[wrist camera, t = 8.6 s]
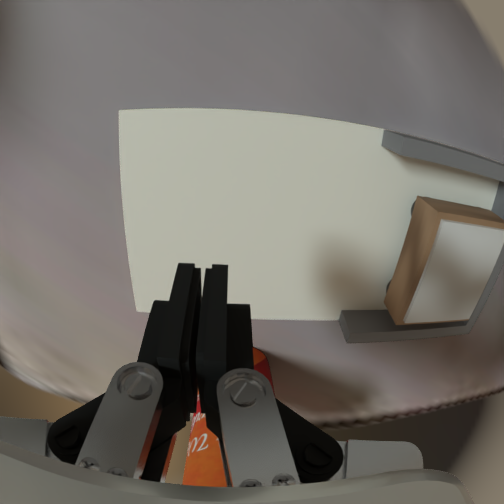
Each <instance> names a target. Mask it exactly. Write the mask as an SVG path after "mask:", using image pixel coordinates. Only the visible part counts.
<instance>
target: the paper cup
mask: <svg viewBox="0 0 504 504" xmlns="http://www.w3.org/2000/svg"><path fill="white" fill-rule="evenodd" d="M253 358H254V370H256V371H258V372H260V373H261V374H263V375H264V376H265V377H266V378H267V379H268V380H269V382H270V384H271V386H272V389H273V393H274V388H273V383H272V377H271V372H270V368H269V363H268V360H267V358H266V356H265V355H264V354H263V353H262V352H261V351H259V350H258V349H256V348H254V347H253ZM274 396H275V394H274ZM182 485H192V486H208V487H227V486H226V481H225V476H224V470H223V465H222V459H221V453H220V447H219V441H218V437H217V436H216V435H215V434H213V433H212V432H211V431H210V430H209V429H208V428H207V427H206V417H205V414H202V413H201V408H200V400H199V391H198V396H197V410H196V413H194V415H193V421H192V427H191V433H190V439H189V445H188V451H187V458H186V464H185V470H184V477H183V484H182Z"/></svg>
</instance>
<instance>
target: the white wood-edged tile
mask: <svg viewBox="0 0 504 504" xmlns="http://www.w3.org/2000/svg"><path fill="white" fill-rule="evenodd" d="M503 244H504V220H503V219H502V218H500V217H499V216H498V215H496V214H495V213H493V212H492V211H490V210H488V209H484V208H481V207H474V206H470V205H465V204H460V203H455V202H450V201H444V200H439V199H433V198H430V197H422V196H417V198H416V200H415V201H414V203H413V204H412V207H411V220H410V224H409V227H408V231H407V234H406V237H405V240H404V244H403V247H402V250H401V253H400V256H399V259H398V262H397V265H396V268H395V271H394V274H393V277H392V280H390V281H389V283H388V284H387V287H386V296H385V299H384V304H385V306H386V308H387V309H388V311H389V313H390V315H391V317H392V319H393V320H394V322H395V324H396V325H408V324H426V323H441V322H455V321H466V320H469V318H470V316H471V315H472V313H473V311H474V309H475V307H476V305H477V303H478V301H479V299H480V297H481V295H482V293H483V291H484V289H485V286H486V284H487V282H488V280H489V278H490V275H491V273H492V271H493V269H494V266H495V264H496V262H497V259H498V257H499V254H500V252H501V249H502V247H503Z"/></svg>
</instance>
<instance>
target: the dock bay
mask: <svg viewBox="0 0 504 504" xmlns="http://www.w3.org/2000/svg"><path fill="white" fill-rule="evenodd" d="M119 152H120V174H121V190H122V203H123V214H124V225H125V234H126V243H127V251H128V258H129V266H130V273H131V279H132V286H133V292H134V298H135V304H136V309H137V311H138V312H149V313H150V311H151V308H152V304H153V302H154V300H164V301H169V298H170V294H171V290H172V286H173V282H174V278H175V274H176V270H177V266H178V263H195V268H201V285H202V293H203V285H204V277H205V269H206V268H212V264H224V265H228V292H227V303H229V304H250V309H251V319H271V320H339V323H340V326H341V329H342V331H343V334H344V337H345V340H346V343H369V342H387V341H401V340H414V339H425V338H435V337H445V336H453V335H462V334H469V332H470V331H471V329H472V327H473V325H474V324H475V322H476V320H477V318H478V316H479V314H480V312H481V310H482V309H483V307H484V305H485V303H486V301H487V299H488V297H489V295H490V293H491V290H492V288H493V286H494V284H495V282H496V280H497V277H498V275H499V273H500V271H501V268H502V266H503V264H504V244H503V247H502V249H501V252H500V254H499V257H498V259H497V262H496V264H495V266H494V269H493V271H492V273H491V275H490V278H489V280H488V282H487V284H486V286H485V289H484V291H483V293H482V295H481V297H480V299H479V301H478V303H477V305H476V307H475V309H474V311H473V313H472V315H471V316H470V318H469V320H466V321H455V322H441V323H426V324H408V325H396V324H395V322H394V320H393V319H392V317H391V315H390V313H389V311H388V309H387V308H386V306H385V304H384V299H385V296H386V287H387V284H388V283H389V281H390V280H392V277H393V274H394V271H395V268H396V265H397V262H398V259H399V256H400V253H401V250H402V247H403V244H404V240H405V237H406V234H407V231H408V227H409V224H410V220H411V207H412V204H413V203H414V201H415V200H416V198H417V196H422V197H430V198H433V199H439V200H444V201H450V202H455V203H460V204H465V205H470V206H474V207H481V208H484V209H488V210H490V211H492V212H493V213H495V214H496V215H498V216H499V217H500V218H502V219H503V220H504V164H503V163H501V162H498V161H495V160H492V159H490V158H487V157H484V156H481V155H478V154H475V153H472V152H469V151H466V150H463V149H459V148H456V147H453V146H450V145H446V144H443V143H439V142H436V141H432V140H428V139H424V138H421V137H417V136H413V135H409V134H404V133H400V132H396V131H391V130H387V129H382V128H377V127H372V126H367V125H362V124H357V123H351V122H345V121H339V120H333V119H326V118H320V117H312V116H305V115H296V114H288V113H278V112H267V111H255V110H240V109H219V108H146V109H126V110H119Z"/></svg>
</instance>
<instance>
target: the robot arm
mask: <svg viewBox="0 0 504 504" xmlns="http://www.w3.org/2000/svg"><path fill="white" fill-rule="evenodd" d="M227 292H228V265H224V264H212V268H206V269H205V277H204V285H203V293H202V285H201V268H195V263H178V266H177V270H176V274H175V278H174V282H173V286H172V290H171V294H170V298H169V301H164V300H154V302H153V304H152V308H151V311H150V315H149V318H148V322H147V326H146V329H145V333H144V337H143V341H142V344H141V348H140V352H139V356H138V360H137V362H134V363H129V364H127V365H124V366H122V367H121V368H120V369H118V370H117V371H116V373H115V374H114V376H113V378H112V380H111V382H110V384H109V386H108V388H107V391H106V393H104V394H102V395H100V396H99V397H97V398H95V399H93V400H92V401H90V402H88V403H86V404H85V405H83V406H81V407H80V408H78V409H76V410H74V411H72V412H71V413H69V414H67V415H65V416H63V417H62V418H60V419H58V420H57V421H56V422H54V423H50V422H48V421H47V420H40V419H22V418H10V417H0V504H474V503H473V500H472V498H471V496H470V494H469V492H468V490H467V488H466V487H465V485H464V484H463V482H461V480H460V479H459V478H457V477H456V476H454V475H452V474H450V473H446V472H442V471H438V470H431V469H423V458H422V455H421V452H420V451H419V449H418V448H417V446H415V445H413V444H411V443H409V442H393V441H363V440H348V441H347V442H342V441H336V440H335V439H334V438H332V437H331V436H329V435H328V434H326V433H325V432H323V431H322V430H320V429H319V428H317V427H316V426H314V425H313V424H311V423H310V422H308V421H307V420H305V419H304V418H303V417H301V416H300V415H298V414H297V413H295V412H294V411H293V410H291V409H290V408H288V407H287V406H286V405H284V404H283V403H281V402H280V401H279V400H277V399H276V398H275V396H274V393H273V389H272V386H271V384H270V382H269V380H268V379H267V378H266V377H265V376H264V375H263V374H261V373H260V372H258V371H256V370H254V358H253V342H252V325H251V309H250V304H229V303H227ZM198 391H199V400H200V408H201V413H202V414H205V417H206V427H207V428H208V429H209V430H210V431H211V432H212V433H213V434H215V435H216V436H217V437H218V441H219V447H220V453H221V459H222V465H223V470H224V476H225V481H226V486H227V487H208V486H192V485H180V484H170V483H164V482H165V479H166V474H167V471H168V467H169V463H170V460H171V456H172V452H173V448H174V445H175V441H176V437H177V432H178V431H179V430H181V429H182V428H184V427H185V426H186V421H190V413H196V410H197V396H198Z"/></svg>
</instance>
